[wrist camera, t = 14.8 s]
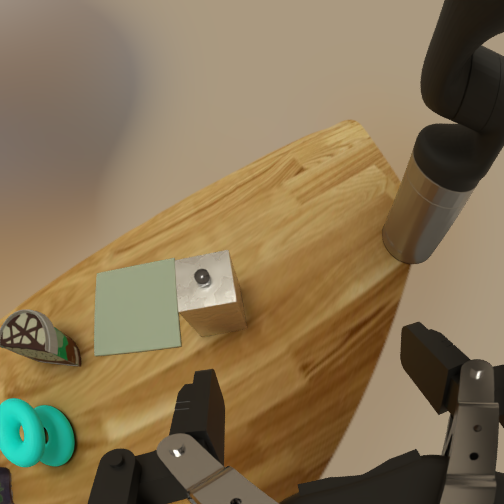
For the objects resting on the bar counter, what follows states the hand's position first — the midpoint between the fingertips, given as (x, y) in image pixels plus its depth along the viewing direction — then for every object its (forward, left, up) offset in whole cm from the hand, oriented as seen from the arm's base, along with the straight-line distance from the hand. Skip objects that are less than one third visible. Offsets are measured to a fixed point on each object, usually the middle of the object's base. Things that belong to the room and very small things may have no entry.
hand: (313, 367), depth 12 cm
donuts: (+36, -7, -29) cm, 47 cm away
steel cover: (+3, -16, -29) cm, 33 cm away
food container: (+30, -21, -29) cm, 47 cm away
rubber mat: (+15, -22, -29) cm, 39 cm away
